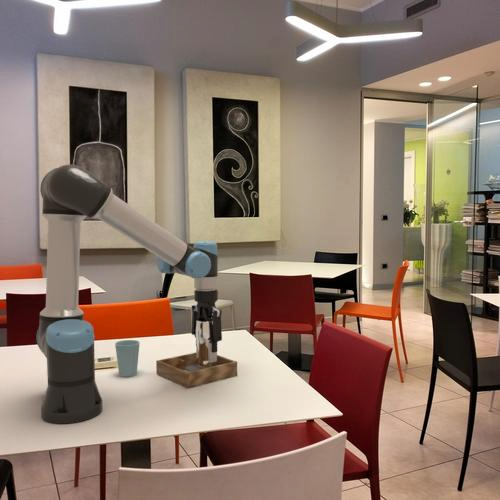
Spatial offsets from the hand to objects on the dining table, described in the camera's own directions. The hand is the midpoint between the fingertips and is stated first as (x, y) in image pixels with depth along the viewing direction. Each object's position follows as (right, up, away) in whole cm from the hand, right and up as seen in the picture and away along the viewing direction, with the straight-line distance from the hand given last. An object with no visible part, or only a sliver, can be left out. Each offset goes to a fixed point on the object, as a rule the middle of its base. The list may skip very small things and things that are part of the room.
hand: (206, 359), depth 168 cm
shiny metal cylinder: (0, -2, 0) cm, 2 cm away
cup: (-25, -5, -1) cm, 26 cm away
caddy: (-3, -5, -2) cm, 6 cm away
